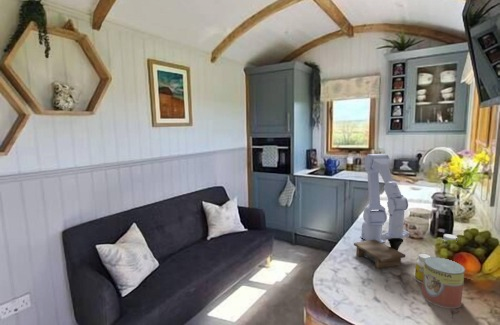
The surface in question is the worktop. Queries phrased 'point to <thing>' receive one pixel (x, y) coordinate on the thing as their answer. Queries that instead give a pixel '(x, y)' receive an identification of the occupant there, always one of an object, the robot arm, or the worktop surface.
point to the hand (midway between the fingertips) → (394, 253)
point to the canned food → (443, 282)
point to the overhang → (379, 253)
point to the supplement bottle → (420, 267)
